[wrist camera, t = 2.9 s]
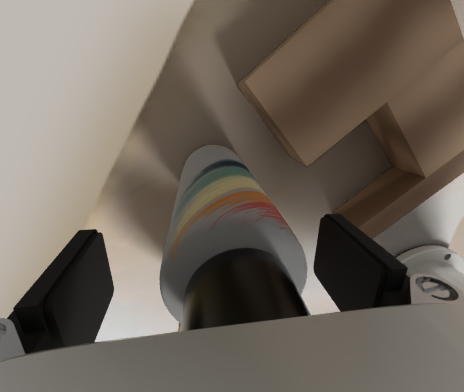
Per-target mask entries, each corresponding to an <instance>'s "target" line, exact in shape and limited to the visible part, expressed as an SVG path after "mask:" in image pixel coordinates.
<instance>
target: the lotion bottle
mask: <svg viewBox="0 0 464 392" xmlns="http://www.w3.org/2000/svg"><path fill="white" fill-rule="evenodd" d="M306 278H307V263H306V258H305V254H304V251H303V249H302V246H301V244H300V243H299V241H298V239H297V238H296V236H295V234H294V233H293V231H292V230H291V228H290V227H289V226H288V224H287V223H286V221H285V220H284V219H283V217H282V216H281V214H280V213H279V212H278V210H277V209H276V207H275V206H274V205H273V203H272V202H271V201H270V199H269V198H268V196H267V195H266V194H265V192H264V191H263V189H262V188H261V187H260V185H259V184H258V183H257V181H256V180H255V178H254V177H253V176H252V174H251V173H250V171H249V170H248V169H247V167H246V166H245V165H244V163H243V162H242V160H241V159H240V158H239V157H238V156H237V155H236V154H235V153H234V152H233V151H232V150H230V149H229V148H227V147H224V146H221V145H207V146H203V147H201V148H199V149H197V150H195V151H194V152H193V153H192V154H191V155H190V156H189V157H188V159H187V160H186V162H185V164H184V167H183V170H182V174H181V179H180V183H179V187H178V192H177V196H176V200H175V205H174V209H173V213H172V218H171V222H170V227H169V231H168V235H167V240H166V244H165V249H164V254H163V259H162V264H161V270H160V290H161V295H162V298H163V301H164V303H165V306H166V307H167V309H168V311H169V312H170V313H171V314H172V316H173V317H174V318H175V319H176V320H177V321H178V322H180V323H181V324H182V329H181V331H188V330H196V329H204V328H212V327H221V326H229V325H237V324H245V323H253V322H261V321H269V320H277V319H285V318H293V317H301V316H309V315H310V313H309V311H308V309H307V307H306V305H305V303H304V301H303V299H302V297H301V294H302V292H303V289H304V286H305V283H306Z"/></svg>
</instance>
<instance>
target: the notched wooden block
mask: <svg viewBox="0 0 464 392" xmlns="http://www.w3.org/2000/svg"><path fill="white" fill-rule="evenodd" d="M237 86H238V88H239V89H240V90H241V92H242V93H243V94H244V96H245V97H246V98H247V100H248V101H249V102H250V104H251V105H252V106H253V108H254V109H255V110H256V112H257V113H258V114H259V116H260V117H261V118H262V120H263V121H264V122H265V124H266V125H267V126H268V128H269V129H270V130H271V132H272V133H273V134H274V136H275V137H276V138H277V140H278V141H279V142H280V144H281V145H282V146H283V148H284V149H285V150H286V152H287V153H288V154H289V156H290V157H292V158H293V159H295V160H297V161H298V162H300V163H302V164H303V165H305V166H309V165H310V164H311V163H312V162H314V161H315V160H316V159H317V158H318V157H320V156H321V155H322V154H323V153H325V152H326V151H327V150H328V149H330V148H331V147H332V146H333V145H335V144H336V143H337V142H338V141H339V140H341V139H342V138H343V137H344V136H346V135H347V134H348V133H349V132H351V131H352V130H353V129H354V128H355V127H357V126H358V125H359V124H360V123H362V122H363V121H364V120H365V119H366V120H367V122H368V124H369V126H370V127H371V129H372V131H373V133H374V134H375V136H376V138H377V140H378V141H379V143H380V145H381V147H382V148H383V150H384V152H385V154H386V155H387V157H388V159H389V161H390V163H391V164H392V166H393V167H391V168H390V169H389V170H388V171H386V172H385V173H384V174H382V175H381V176H380V177H378V178H377V179H376V180H374V181H373V182H372V183H371V184H369V185H368V186H367V187H365V188H364V189H363V190H361V191H360V192H359V193H358V194H356V195H355V196H354V197H352V198H351V199H350V200H348V201H347V202H346V203H344V204H343V205H342V206H341V207H339V208H338V209H337V210H335V211H334V212H333V214H336V213H339V214H341V215H342V216H343V217H344V218H346V219H347V220H348V221H350V222H351V223H352V224H353V225H355V226H356V227H357V228H358V229H360V230H361V231H362V232H363V233H365V234H366V235H367V236H368V237H370V238H371V239H373V238H374V237H376V236H377V235H378V234H380V233H381V232H383V231H384V230H385V229H387V228H388V227H389V226H391V225H392V224H394V223H395V222H396V221H398V220H399V219H400V218H402V217H403V216H405V215H406V214H407V213H409V212H410V211H411V210H413V209H414V208H416V207H417V206H418V205H420V204H421V203H422V202H424V201H425V200H427V199H428V198H429V197H431V196H432V195H433V194H435V193H436V192H438V191H439V190H440V189H442V188H443V187H444V186H446V185H447V184H449V183H450V182H451V181H453V180H454V179H455V178H457V177H458V176H460V175H461V174H462V173H464V39H463V36H462V33H461V30H460V27H459V25H458V22H457V19H456V16H455V13H454V10H453V7H452V5H451V2H450V0H329V1H328V2H327V3H326V4H325V5H323V6H322V7H321V8H320V9H319V10H318V11H317V12H316V13H315V14H314V15H313V16H311V17H310V18H309V19H308V20H307V21H306V22H305V23H304V24H303V25H302V26H300V27H299V28H298V29H297V30H296V31H295V32H294V33H293V34H292V35H291V36H289V37H288V38H287V39H286V40H285V41H284V42H283V43H282V44H281V45H280V46H279V47H277V48H276V49H275V50H274V51H273V52H272V53H271V54H270V55H269V56H268V57H266V58H265V59H264V60H263V61H262V62H261V63H260V64H259V65H258V66H257V67H255V68H254V69H253V70H252V71H251V72H250V73H249V74H248V75H247V76H246V77H245V78H243V79H242V80H241V81H240V82H239V83H238V84H237Z"/></svg>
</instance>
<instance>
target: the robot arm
mask: <svg viewBox="0 0 464 392" xmlns="http://www.w3.org/2000/svg"><path fill="white" fill-rule="evenodd" d="M314 273H315V275H316V277H317V278H318V280H319V281H320V282H321V284H322V285H323V287H324V288H325V290H326V291H327V293H328V294H329V295H330V297H331V298H332V300H333V301H334V303H335V304H336V306H337V307H338V308H339V310H340V311H341V312H334V313H326V314H317V315H309V316H301V317H293V318H285V319H277V320H269V321H261V322H253V323H245V324H237V325H229V326H221V327H212V328H204V329H196V330H188V331H180V332H172V333H164V334H156V335H149V336H141V337H133V338H125V339H118V340H110V341H102V342H94V341H95V339H96V336H97V334H98V331H99V329H100V326H101V324H102V321H103V319H104V316H105V314H106V311H107V309H108V306H109V304H110V301H111V299H112V296H113V292H114V286H113V281H112V276H111V271H110V267H109V262H108V258H107V253H106V248H105V244H104V239H103V235H102V233H101V232H100V233H98V232H97V230H96V229H92V230H79V231H78V232H77V233H76V234H75V236H74V237H73V238H72V239H71V240H70V242H69V243H68V244H67V245H66V246H65V248H64V249H63V250H62V251H61V252H60V253H59V255H58V256H57V257H56V258H55V259H54V261H53V262H52V263H51V264H50V265H49V266H48V268H47V269H46V270H45V271H44V272H43V274H42V275H41V276H40V277H39V279H38V280H37V281H36V282H35V283H34V284H33V286H32V287H31V288H30V289H29V290H28V291H27V293H26V294H25V295H24V296H23V297H22V298H21V300H20V301H19V302H18V303H17V304H16V306H15V307H14V308H13V309H14V311H13V312H12V313H11V314H10V315H9V317H8V318H7V319H5V318H0V392H464V259H463V258H462V257H461V256H460V255H458V254H457V253H455V252H454V251H452V250H450V249H448V248H446V247H442V246H436V245H428V246H422V247H418V248H415V249H411V250H409V251H407V252H405V253H403V254H401V255H399V256H397V257H396V258H395V257H394V256H392V255H391V254H390V253H389V252H387V251H386V250H385V249H384V248H382V247H381V246H380V245H379V244H377V243H376V242H375V241H373V240H372V239H371V238H370V237H368V236H367V235H366V234H365V233H363V232H362V231H361V230H360V229H358V228H357V227H356V226H355V225H353V224H352V223H351V222H350V221H348V220H347V219H346V218H344V217H343V216H342V215H341V214H339V213H336V214H326V215H325V216H324V217H323V218H321V220H320V227H319V233H318V240H317V247H316V253H315V260H314Z"/></svg>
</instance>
